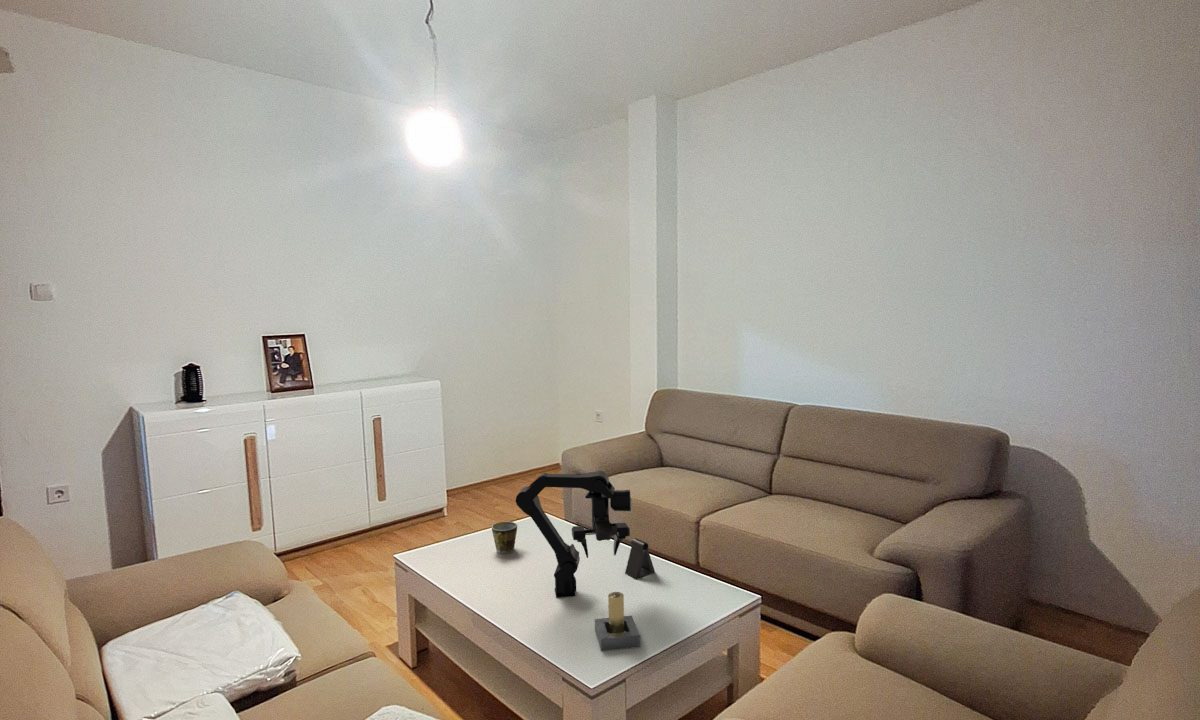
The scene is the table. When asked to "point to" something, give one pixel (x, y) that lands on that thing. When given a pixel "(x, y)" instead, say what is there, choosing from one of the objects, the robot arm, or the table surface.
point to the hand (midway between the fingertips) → (601, 556)
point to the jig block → (617, 635)
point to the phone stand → (639, 560)
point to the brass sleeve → (616, 612)
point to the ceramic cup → (504, 536)
